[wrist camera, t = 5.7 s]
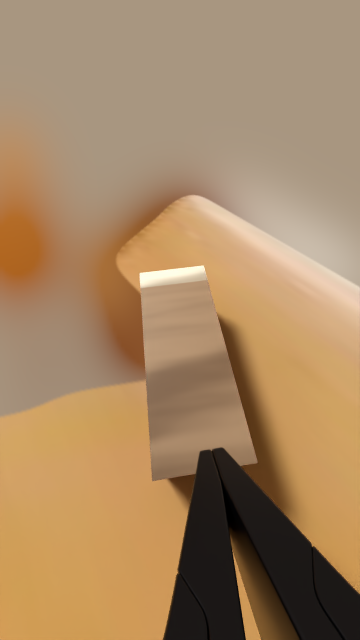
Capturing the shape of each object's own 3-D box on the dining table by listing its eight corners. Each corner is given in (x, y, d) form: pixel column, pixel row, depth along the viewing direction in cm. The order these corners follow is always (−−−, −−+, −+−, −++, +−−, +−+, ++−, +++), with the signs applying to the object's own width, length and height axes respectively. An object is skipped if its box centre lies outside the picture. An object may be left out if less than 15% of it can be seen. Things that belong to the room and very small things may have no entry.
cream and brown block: (257, 463, 10) (203, 265, 17) (152, 481, 10) (139, 273, 17) (236, 459, 14) (199, 302, 21) (162, 471, 14) (148, 309, 21)
